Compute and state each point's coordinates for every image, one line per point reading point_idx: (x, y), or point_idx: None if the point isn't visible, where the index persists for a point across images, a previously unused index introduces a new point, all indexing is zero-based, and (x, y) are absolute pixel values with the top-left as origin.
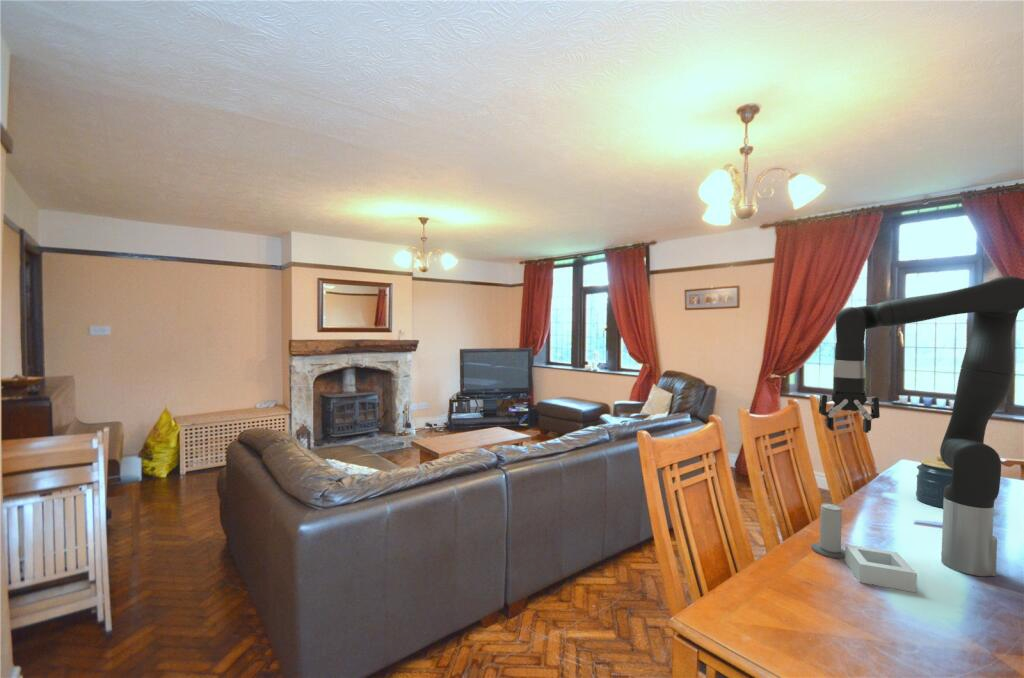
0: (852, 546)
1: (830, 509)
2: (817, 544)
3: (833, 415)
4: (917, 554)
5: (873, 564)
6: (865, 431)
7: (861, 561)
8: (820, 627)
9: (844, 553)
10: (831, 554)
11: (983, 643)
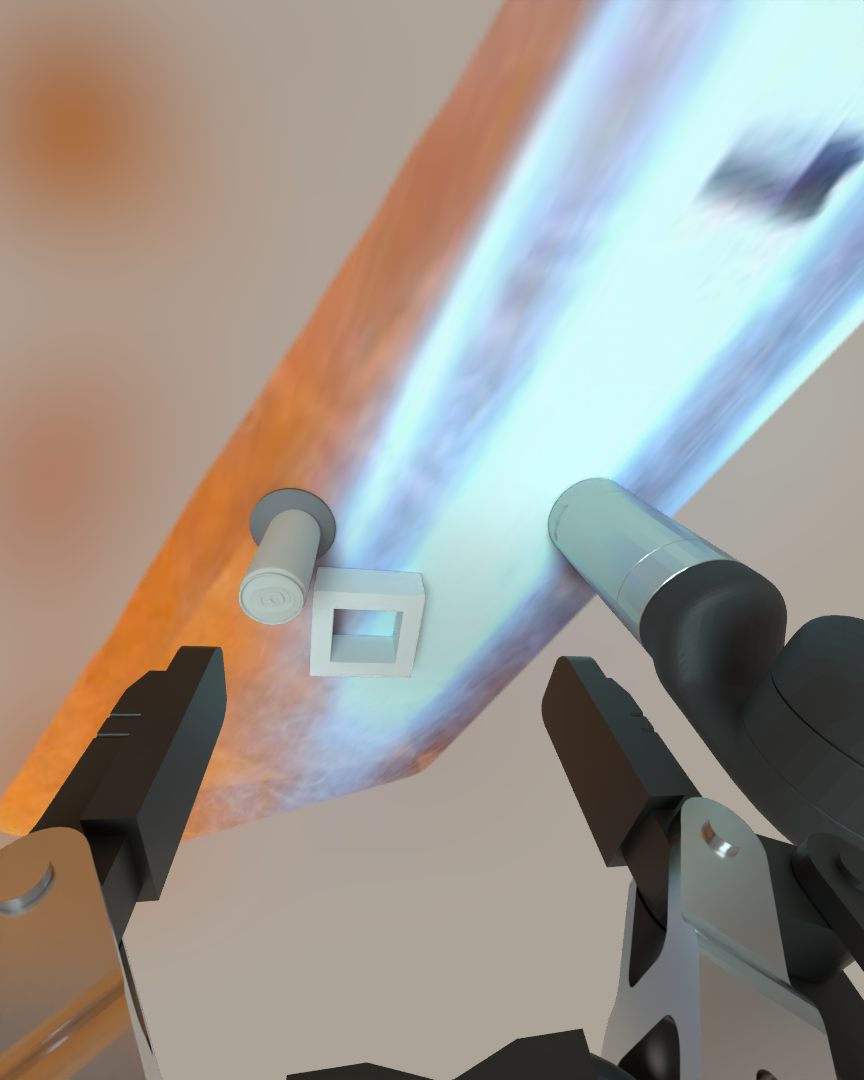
0: (327, 598)
1: (262, 621)
2: (269, 506)
3: (128, 974)
4: (524, 475)
5: (338, 669)
6: (544, 719)
7: (317, 664)
8: (204, 779)
9: (327, 541)
10: None
11: (420, 742)
